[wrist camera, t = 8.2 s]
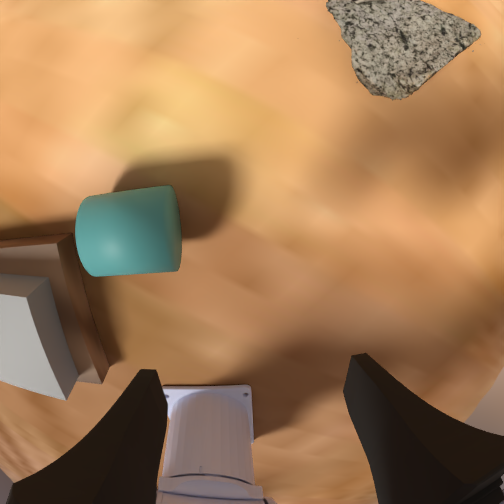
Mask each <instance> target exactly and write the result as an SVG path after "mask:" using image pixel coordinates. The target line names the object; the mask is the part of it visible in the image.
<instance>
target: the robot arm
mask: <svg viewBox="0 0 504 504" xmlns="http://www.w3.org/2000/svg"><path fill="white" fill-rule="evenodd" d="M244 393H247V394H244ZM343 393H344V397H345V401H346V405H347V408H348V412H349V415H350V417H351V420H352V422H353V424H354V427H355V429H356V432H357V434H358V436H359V439H360V441H361V444H362V446H363V449H364V451H365V453H366V456H367V459H368V462H369V464H370V468H371V472H372V476H373V480H374V484H375V488H376V493H377V498H378V503H379V504H504V489H503V490H501V488H500V485H502V483H503V481H502V479H501V476H502V475H503V474H504V436H501V435H497V434H493V433H489V432H486V431H483V430H480V429H477V428H474V427H472V426H469V425H467V424H465V423H463V422H460V421H458V420H456V419H454V418H452V417H450V416H448V415H446V414H444V413H443V412H441V411H439V410H438V409H436V408H434V407H433V406H431V405H430V404H428V403H426V402H425V401H424V400H422V399H421V398H419V397H418V396H417V395H415V394H414V393H413V392H411V391H410V390H409V389H407V388H406V387H405V386H404V385H402V384H401V383H400V382H399V381H397V380H396V379H395V378H394V377H393V376H392V375H390V374H389V373H388V372H387V371H386V370H385V369H384V368H382V367H381V366H380V365H379V364H378V363H377V362H376V361H375V360H373V359H372V358H371V357H370V356H369V355H368V354H367V353H364V354H358V355H352V356H351V360H350V364H349V369H348V373H347V377H346V381H345V385H344V389H343ZM165 394H166V395H165ZM167 414H168V417H169V419H170V423H169V430H168V437H167V444H166V451H165V458H164V466H163V474H162V477H159V485H158V491H157V487H156V486H157V476H158V470H159V464H160V459H161V454H162V449H163V443H164V438H165V433H166V427H167ZM253 442H254V432H253V413H252V392H251V386H249V385H228V386H161V383H160V380H159V377H158V374H157V371H156V370H150V369H141V370H140V371H139V372H138V373H137V374H136V376H135V377H134V379H133V380H132V381H131V383H130V384H129V385H128V387H127V388H126V389H125V391H124V392H123V393H122V395H121V396H120V397H119V398H118V400H117V401H116V402H115V403H114V405H113V406H112V407H111V409H110V410H109V411H108V412H107V413H106V414H105V416H104V417H103V418H102V419H101V420H100V421H99V422H98V423H97V425H96V426H95V427H94V428H93V429H92V430H91V431H90V432H89V433H88V434H87V435H86V436H85V437H84V438H83V439H82V440H81V441H80V442H78V443H77V444H76V445H75V446H74V447H73V448H71V449H70V450H69V451H68V452H67V453H65V454H64V455H63V456H61V457H60V458H59V459H57V460H56V461H54V462H53V463H51V464H50V465H48V466H47V467H45V468H43V469H42V470H40V471H38V472H36V473H35V474H33V475H31V476H29V477H26V478H24V479H22V480H20V481H18V482H15V483H13V485H12V487H11V490H10V493H9V496H8V499H7V502H6V504H277V503H276V502H275V501H274V499H273V498H271V497H263V490H262V486H255V479H254V469H253V459H252V449H251V444H252V443H253Z"/></svg>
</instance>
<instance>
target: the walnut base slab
mask: <svg viewBox="0 0 504 504" xmlns="http://www.w3.org/2000/svg"><path fill="white" fill-rule="evenodd" d="M0 273H2V274H14V275H26V276H39V277H49V281H50V285H51V290H52V294H53V298H54V301H55V305H56V309H57V312H58V316H59V319H60V323H61V326H62V329H63V332H64V336H65V339H66V342H67V345H68V348H69V350H70V353H71V356H72V359H73V361H74V364H75V367H76V369H77V372H78V375H79V377H78V379H77V381H79V382H87V383H95V384H102V383H103V381H104V379H105V376H106V374H107V372H108V370H109V367H110V366H109V363H108V360H107V358H106V355H105V352H104V349H103V347H102V344H101V341H100V338H99V335H98V332H97V329H96V326H95V323H94V320H93V316H92V313H91V310H90V306H89V303H88V299H87V296H86V292H85V288H84V284H83V281H82V277H81V272H80V268H79V264H78V259H77V255H76V250H75V245H74V240H73V235H72V233H67V234H56V235H46V236H37V237H27V238H18V239H9V240H1V241H0Z"/></svg>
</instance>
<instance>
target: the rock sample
mask: <svg viewBox="0 0 504 504" xmlns="http://www.w3.org/2000/svg"><path fill="white" fill-rule="evenodd" d="M326 7H327V9H328V11H329V12H330V13H332V14H333V16H334V19H335V20H336V21H337V23H338V24H339V26H340V28H341V36H342V38H343V39H344V41H345V42H346V43H347V44H348V45H349V47H350V48H351V49H352V67H353V69H354V71H355V73H356V76H357V77H358V79H359V81H360V82H361V83H362V84H363V85H364V86H365V87H366V88H367V89H368V90H369V92H370V93H371V94H372V95H377V96H384V97H388V98H390V99H400V100H401V99H402V98H407V97H408V96H409V95H410V94H411V95H412V94H413V92H414V91H416V90H418V89H419V88H420V87H421V85H423V84H424V83H425V82H426V81H427V80H428V79H430V78H431V77H432V76H433V75H434V74H435V73H437V72H438V71H439V70H440V69H441V68H443V67H444V66H445V65H446V64H448V62H450V61H451V60H453V59H454V57H456V56H457V55H458V54H459V53H461V52H462V51H464V50H465V49H466V48H467V47H469V46H470V45H472V43H473V42H474V41H476V40H478V39H479V38H480V36H481V32H480V30H479V29H478V28H477V27H476V26H475V25H474V24H471V23H469V22H467V21H465V20H463V19H461V18H459V17H457V16H454V15H453V14H450V13H446V12H443V11H441V10H440V9H438V8H436V7H435V6H433V5H431V4H428V3H425V2H423V1H420V0H328V2H327V3H326ZM298 39H299V38H298ZM339 41H340V40H339ZM484 44H485V43H484ZM473 51H474V50H473ZM473 51H472V52H473Z"/></svg>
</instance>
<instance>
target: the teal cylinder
mask: <svg viewBox="0 0 504 504" xmlns="http://www.w3.org/2000/svg"><path fill="white" fill-rule="evenodd" d="M75 237H76V245H77V250H78V254H79V257H80V260H81V262H82V264H83V266H84V268H85V269H86V271H87V272H88V273H89V274H90V275H92V276H95V277H98V276H114V275H130V274H145V273H160V272H174V271H178V269H179V267H180V263H181V253H182V236H181V222H180V214H179V207H178V202H177V198H176V194H175V191H174V189H173V187H172V186H171V185H165V186H157V187H149V188H141V189H134V190H127V191H120V192H113V193H106V194H100V195H94V196H89V197H87V198H85V199H84V200H83V202H82V203H81V205H80V207H79V210H78V213H77V217H76V225H75Z"/></svg>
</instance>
